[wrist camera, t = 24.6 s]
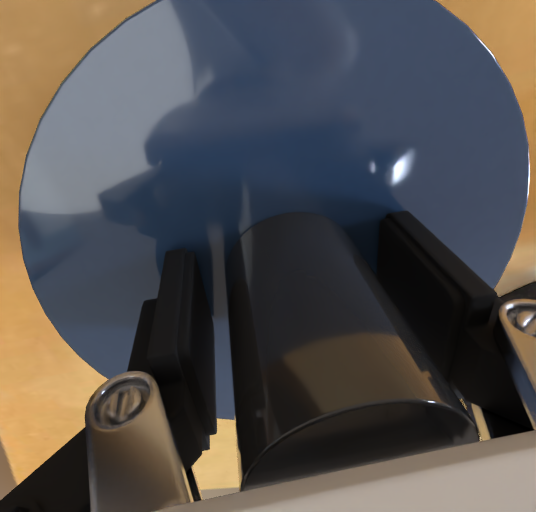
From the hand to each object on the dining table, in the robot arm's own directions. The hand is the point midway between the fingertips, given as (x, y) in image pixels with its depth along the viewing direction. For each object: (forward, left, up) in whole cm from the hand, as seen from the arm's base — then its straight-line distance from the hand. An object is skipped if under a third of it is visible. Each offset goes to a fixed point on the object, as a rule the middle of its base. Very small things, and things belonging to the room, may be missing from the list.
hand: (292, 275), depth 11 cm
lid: (0, 0, -1) cm, 1 cm away
